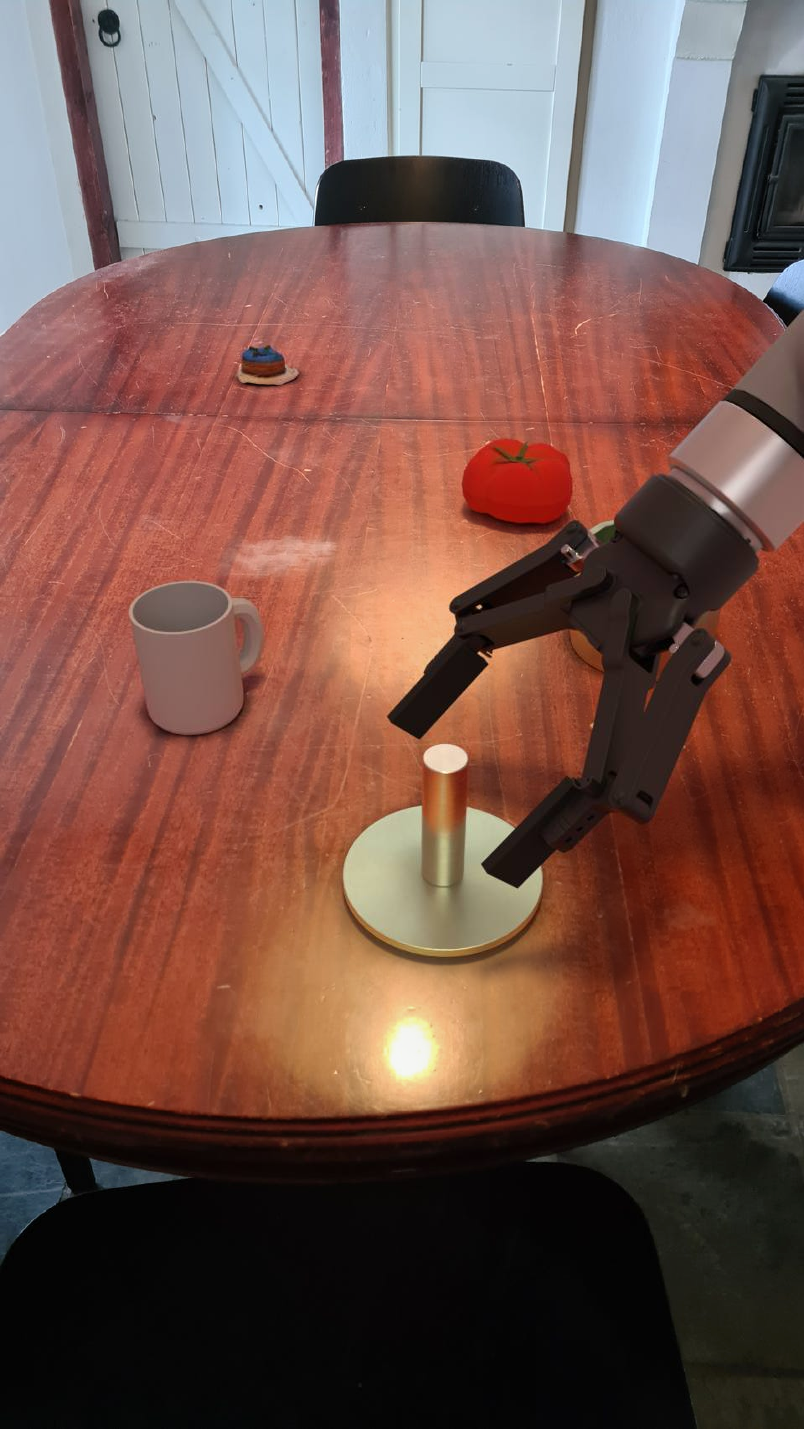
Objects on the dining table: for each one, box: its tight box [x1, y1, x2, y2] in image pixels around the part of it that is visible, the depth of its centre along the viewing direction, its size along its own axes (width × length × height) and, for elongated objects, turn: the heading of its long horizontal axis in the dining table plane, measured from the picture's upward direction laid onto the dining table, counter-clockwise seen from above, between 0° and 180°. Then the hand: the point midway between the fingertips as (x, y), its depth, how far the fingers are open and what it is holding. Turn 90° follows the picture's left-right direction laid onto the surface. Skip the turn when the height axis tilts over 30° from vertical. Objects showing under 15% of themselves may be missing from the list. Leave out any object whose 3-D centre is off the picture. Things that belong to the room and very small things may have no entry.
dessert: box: [237, 344, 300, 386], centre depth 135 cm, size 8×7×6 cm
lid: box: [341, 743, 544, 958], centre depth 60 cm, size 12×12×10 cm
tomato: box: [461, 437, 574, 525], centre depth 102 cm, size 10×11×6 cm
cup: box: [128, 580, 265, 736], centre depth 76 cm, size 7×10×9 cm
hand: (446, 796), depth 59 cm, fingers open, 13 cm apart
